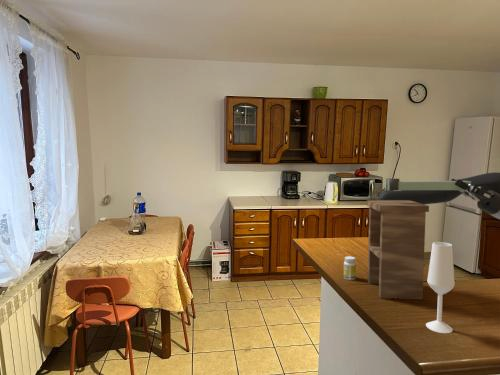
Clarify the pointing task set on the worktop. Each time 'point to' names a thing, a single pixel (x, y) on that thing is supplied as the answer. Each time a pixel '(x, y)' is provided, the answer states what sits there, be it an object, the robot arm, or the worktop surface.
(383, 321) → the worktop surface
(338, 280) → the worktop surface
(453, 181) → the capped bar
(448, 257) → the champagne flute
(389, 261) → the walnut shelf
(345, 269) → the supplement bottle
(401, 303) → the worktop surface
